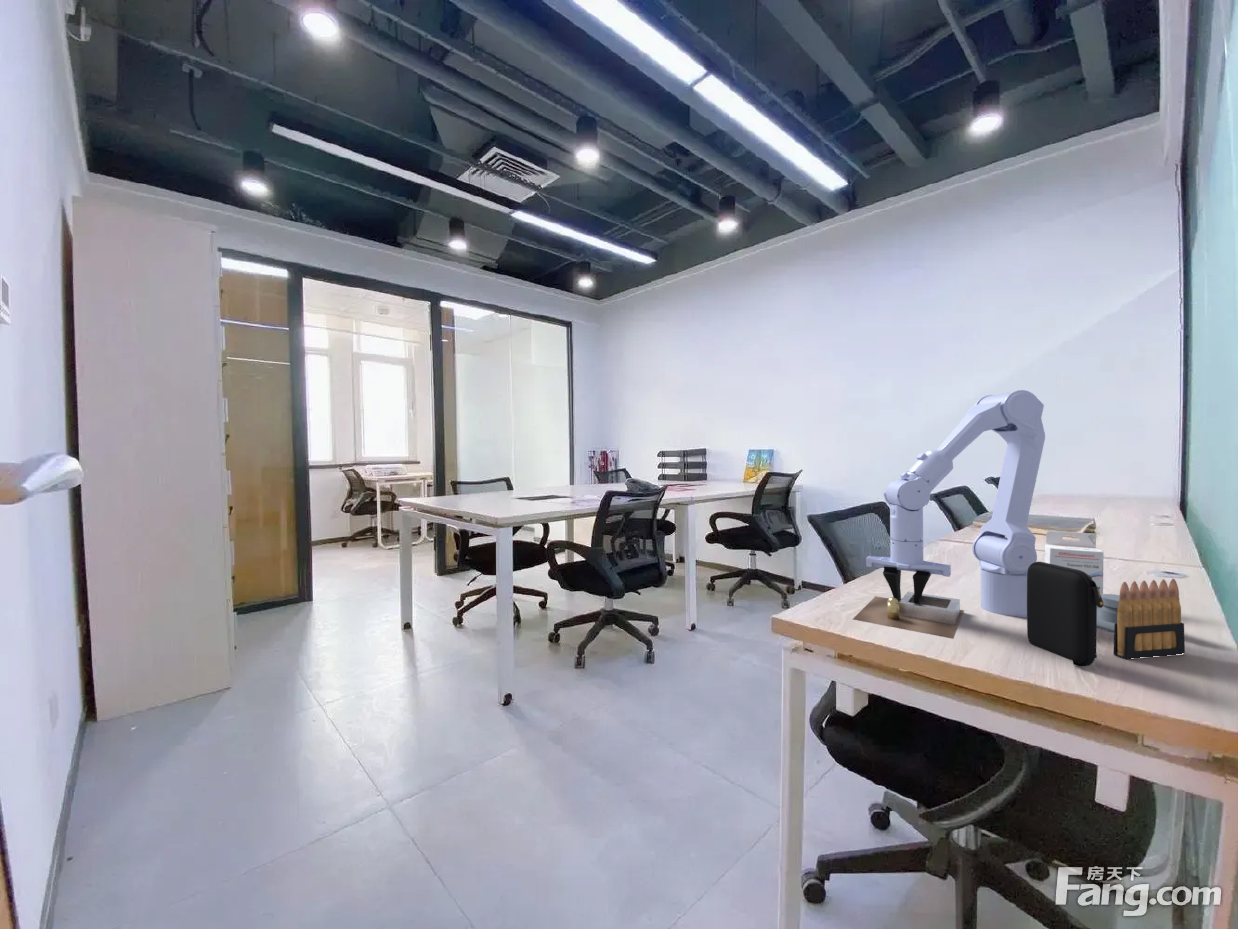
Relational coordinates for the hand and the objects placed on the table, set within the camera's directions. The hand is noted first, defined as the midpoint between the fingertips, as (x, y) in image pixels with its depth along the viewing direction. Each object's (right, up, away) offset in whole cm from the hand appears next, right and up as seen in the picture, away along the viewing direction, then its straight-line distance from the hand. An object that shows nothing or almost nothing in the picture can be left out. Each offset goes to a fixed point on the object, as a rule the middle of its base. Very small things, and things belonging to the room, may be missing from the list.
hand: (907, 606), depth 97 cm
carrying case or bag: (+12, -2, -22) cm, 25 cm away
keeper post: (-5, -1, -5) cm, 7 cm away
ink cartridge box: (+39, -1, +5) cm, 39 cm away
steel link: (+3, -1, -2) cm, 4 cm away
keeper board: (-1, -2, -3) cm, 4 cm away
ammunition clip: (+26, -2, -21) cm, 33 cm away
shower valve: (+35, -2, -8) cm, 36 cm away
